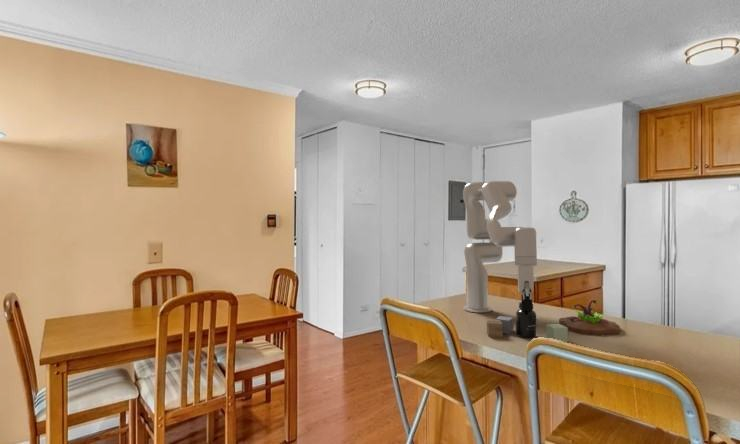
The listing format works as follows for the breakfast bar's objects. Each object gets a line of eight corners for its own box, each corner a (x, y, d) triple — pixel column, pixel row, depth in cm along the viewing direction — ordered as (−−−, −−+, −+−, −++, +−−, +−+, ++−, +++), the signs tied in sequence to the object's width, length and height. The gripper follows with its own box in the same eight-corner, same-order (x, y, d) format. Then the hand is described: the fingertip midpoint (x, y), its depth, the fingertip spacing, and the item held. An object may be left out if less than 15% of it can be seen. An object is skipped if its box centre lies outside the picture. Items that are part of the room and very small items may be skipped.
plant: (631, 337, 141) (631, 306, 141) (575, 336, 143) (574, 305, 142) (603, 322, 161) (603, 295, 161) (554, 321, 162) (554, 294, 162)
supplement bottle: (533, 339, 138) (533, 306, 138) (513, 336, 142) (513, 303, 142) (538, 335, 144) (538, 302, 144) (519, 331, 148) (519, 300, 148)
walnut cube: (486, 332, 148) (486, 319, 148) (500, 333, 147) (500, 320, 147) (488, 336, 143) (488, 323, 143) (502, 337, 142) (502, 323, 142)
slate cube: (500, 328, 153) (499, 316, 153) (513, 330, 150) (513, 317, 150) (496, 331, 149) (496, 318, 149) (509, 333, 146) (509, 320, 146)
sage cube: (546, 338, 140) (546, 324, 140) (559, 337, 140) (559, 323, 140) (554, 342, 135) (553, 328, 135) (567, 342, 135) (567, 327, 135)
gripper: (514, 259, 152) (515, 303, 152) (515, 263, 136) (516, 312, 135) (535, 259, 149) (536, 304, 149) (538, 263, 133) (539, 313, 133)
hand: (526, 308), depth 142 cm, fingers open, 9 cm apart
